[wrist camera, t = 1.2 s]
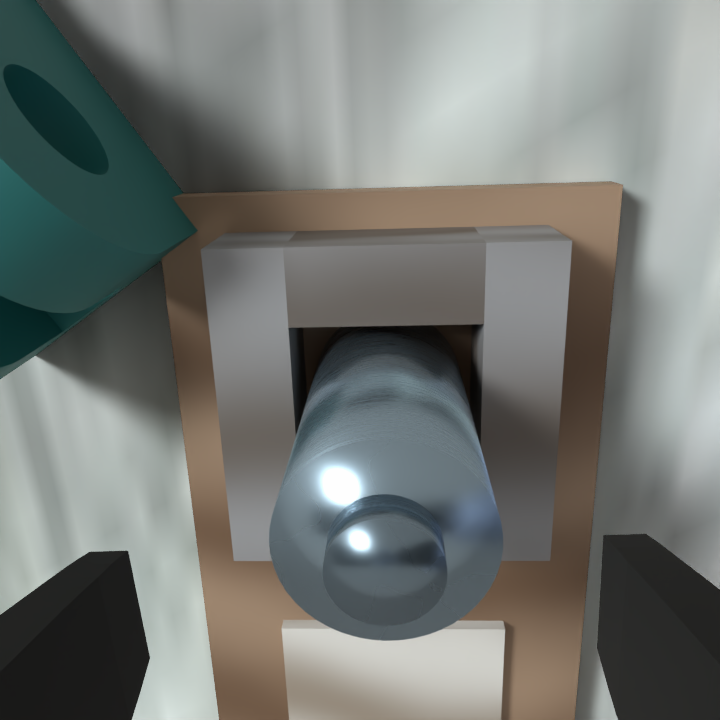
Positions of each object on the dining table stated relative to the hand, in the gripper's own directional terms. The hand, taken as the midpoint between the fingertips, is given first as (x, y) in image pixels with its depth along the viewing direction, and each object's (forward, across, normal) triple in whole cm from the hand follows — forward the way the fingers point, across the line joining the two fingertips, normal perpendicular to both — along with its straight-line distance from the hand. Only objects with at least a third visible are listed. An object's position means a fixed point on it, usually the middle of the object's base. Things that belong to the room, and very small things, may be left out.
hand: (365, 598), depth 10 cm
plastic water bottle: (+9, 0, 0) cm, 9 cm away
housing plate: (+10, 0, +6) cm, 12 cm away
